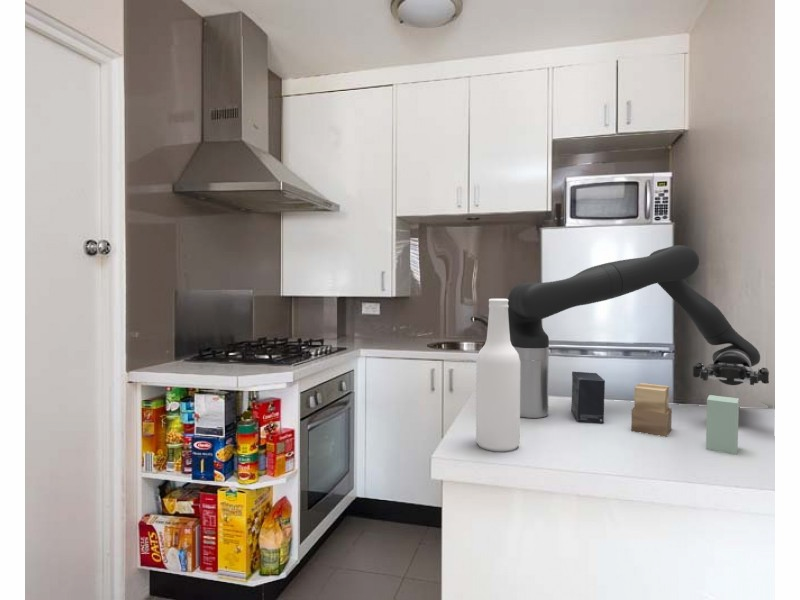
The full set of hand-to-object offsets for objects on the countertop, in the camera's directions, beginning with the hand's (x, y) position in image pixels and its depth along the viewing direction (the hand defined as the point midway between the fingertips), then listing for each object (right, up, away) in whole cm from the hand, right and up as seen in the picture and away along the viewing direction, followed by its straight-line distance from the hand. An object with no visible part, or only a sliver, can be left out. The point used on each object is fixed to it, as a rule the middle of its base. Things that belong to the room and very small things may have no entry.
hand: (728, 378), depth 106 cm
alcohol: (-52, -13, -6) cm, 54 cm away
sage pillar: (-7, -13, -8) cm, 17 cm away
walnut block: (-15, -12, +4) cm, 20 cm away
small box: (-25, -12, +14) cm, 31 cm away
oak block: (-15, -7, +3) cm, 17 cm away
